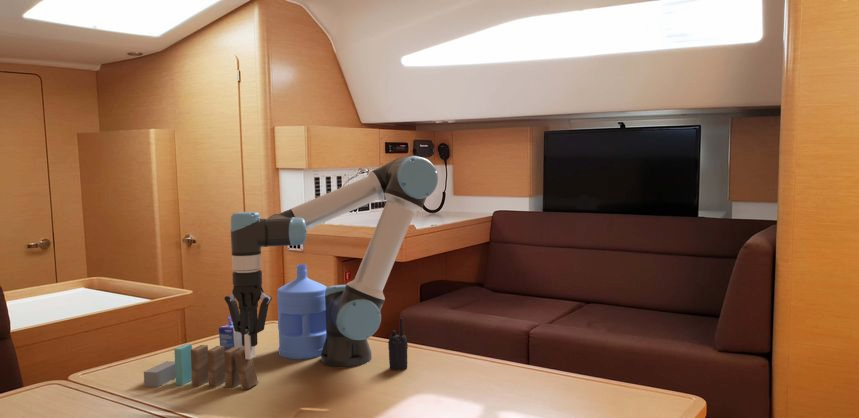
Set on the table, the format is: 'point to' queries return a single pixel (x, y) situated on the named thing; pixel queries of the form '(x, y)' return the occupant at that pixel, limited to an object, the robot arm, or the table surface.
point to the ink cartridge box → (230, 336)
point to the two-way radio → (398, 350)
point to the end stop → (159, 374)
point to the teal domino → (183, 364)
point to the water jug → (301, 317)
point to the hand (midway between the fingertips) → (250, 357)
